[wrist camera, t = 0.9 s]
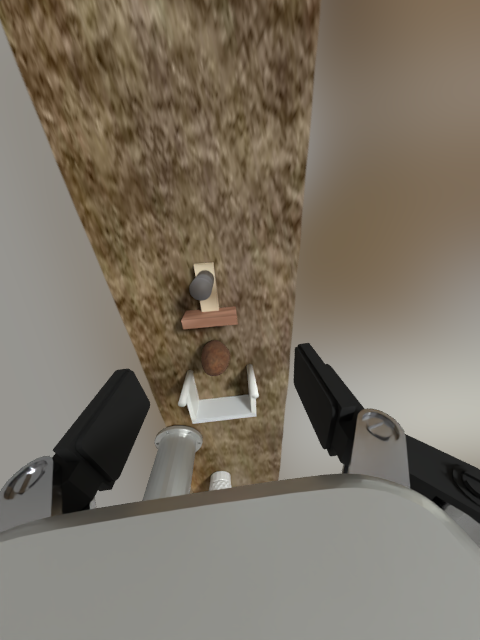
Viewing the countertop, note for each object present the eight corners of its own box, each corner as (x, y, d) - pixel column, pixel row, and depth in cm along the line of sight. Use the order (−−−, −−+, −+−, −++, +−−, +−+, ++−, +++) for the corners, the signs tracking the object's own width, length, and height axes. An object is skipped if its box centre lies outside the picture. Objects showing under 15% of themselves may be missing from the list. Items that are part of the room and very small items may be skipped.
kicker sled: (176, 265, 28) (160, 275, 21) (231, 261, 28) (234, 269, 21) (187, 318, 32) (177, 341, 25) (236, 314, 32) (239, 335, 26)
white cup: (217, 483, 61) (216, 526, 52) (204, 475, 58) (200, 519, 49) (236, 476, 60) (238, 518, 51) (223, 467, 57) (223, 510, 48)
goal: (186, 370, 38) (177, 401, 31) (252, 363, 38) (258, 392, 31) (195, 404, 43) (189, 438, 35) (253, 397, 43) (259, 429, 36)
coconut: (198, 343, 35) (191, 371, 28) (217, 329, 34) (215, 354, 27) (215, 359, 37) (213, 388, 30) (234, 346, 36) (236, 373, 29)
